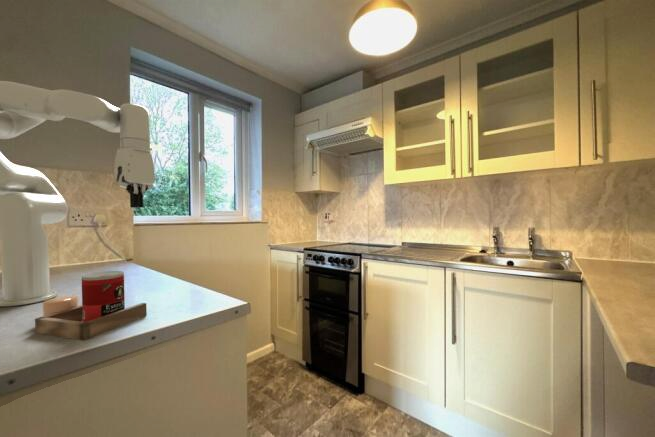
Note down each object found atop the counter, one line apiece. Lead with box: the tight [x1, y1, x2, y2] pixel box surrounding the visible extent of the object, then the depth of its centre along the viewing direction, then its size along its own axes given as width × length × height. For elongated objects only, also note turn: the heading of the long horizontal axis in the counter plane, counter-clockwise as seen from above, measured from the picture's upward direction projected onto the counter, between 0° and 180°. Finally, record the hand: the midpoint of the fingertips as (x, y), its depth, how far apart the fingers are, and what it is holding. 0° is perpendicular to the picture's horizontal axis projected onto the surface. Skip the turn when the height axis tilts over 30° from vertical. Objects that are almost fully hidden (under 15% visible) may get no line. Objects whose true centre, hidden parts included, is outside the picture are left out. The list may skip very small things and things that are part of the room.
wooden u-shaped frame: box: [34, 302, 148, 341], centre depth 65 cm, size 14×14×3 cm
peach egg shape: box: [42, 295, 79, 317], centre depth 67 cm, size 6×6×5 cm
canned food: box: [81, 270, 126, 322], centre depth 66 cm, size 8×8×11 cm
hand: (136, 207), depth 87 cm, fingers closed
